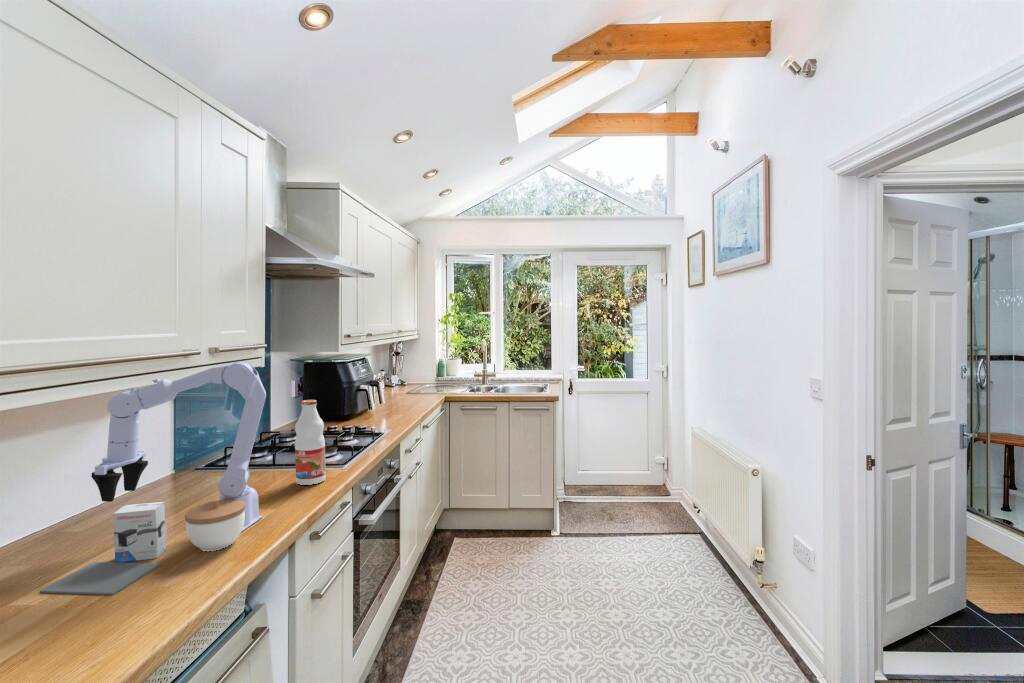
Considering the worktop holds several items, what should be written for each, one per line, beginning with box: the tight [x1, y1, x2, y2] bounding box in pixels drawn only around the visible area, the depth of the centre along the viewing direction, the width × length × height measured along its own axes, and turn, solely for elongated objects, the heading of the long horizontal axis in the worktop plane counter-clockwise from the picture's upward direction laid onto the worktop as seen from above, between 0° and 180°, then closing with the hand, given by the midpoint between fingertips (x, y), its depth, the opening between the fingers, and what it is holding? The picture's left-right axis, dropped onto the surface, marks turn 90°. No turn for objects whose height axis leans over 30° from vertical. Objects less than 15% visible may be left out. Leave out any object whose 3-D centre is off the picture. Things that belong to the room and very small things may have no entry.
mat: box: [39, 561, 161, 596], centre depth 101 cm, size 12×16×1 cm
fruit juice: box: [294, 399, 327, 486], centre depth 160 cm, size 9×9×28 cm
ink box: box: [112, 501, 167, 563], centre depth 110 cm, size 8×5×12 cm, turn 105°
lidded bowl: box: [184, 499, 245, 553], centre depth 116 cm, size 13×13×11 cm
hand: (119, 495), depth 116 cm, fingers open, 7 cm apart
